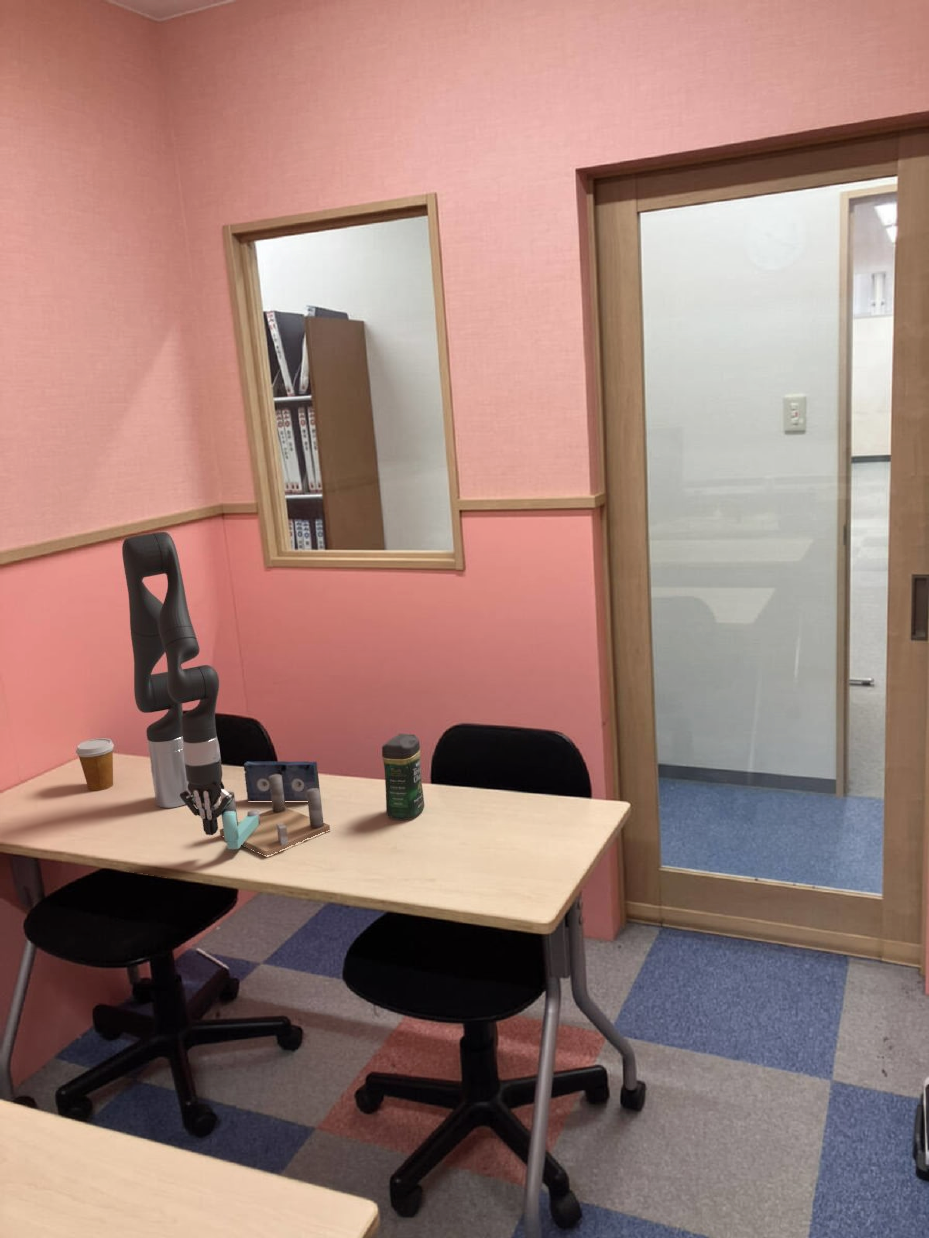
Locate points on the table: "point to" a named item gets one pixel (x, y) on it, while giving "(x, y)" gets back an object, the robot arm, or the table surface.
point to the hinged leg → (239, 827)
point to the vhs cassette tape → (293, 778)
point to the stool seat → (283, 821)
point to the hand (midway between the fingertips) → (211, 833)
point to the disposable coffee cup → (97, 763)
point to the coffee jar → (403, 777)
